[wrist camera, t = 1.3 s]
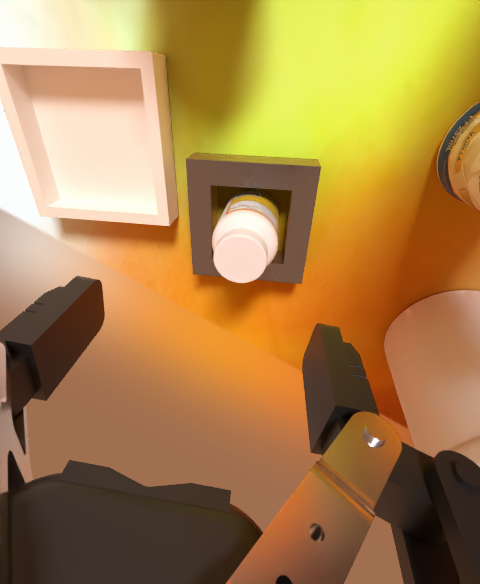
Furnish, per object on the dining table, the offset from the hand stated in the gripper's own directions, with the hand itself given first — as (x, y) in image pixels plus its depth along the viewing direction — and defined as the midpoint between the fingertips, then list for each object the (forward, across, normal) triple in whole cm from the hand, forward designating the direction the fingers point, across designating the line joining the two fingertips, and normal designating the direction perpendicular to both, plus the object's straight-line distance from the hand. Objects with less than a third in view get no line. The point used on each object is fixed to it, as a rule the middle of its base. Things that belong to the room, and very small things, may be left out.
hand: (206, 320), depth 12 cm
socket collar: (+21, -1, +3) cm, 21 cm away
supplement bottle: (+21, -1, +3) cm, 21 cm away
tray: (+21, +14, -1) cm, 25 cm away
